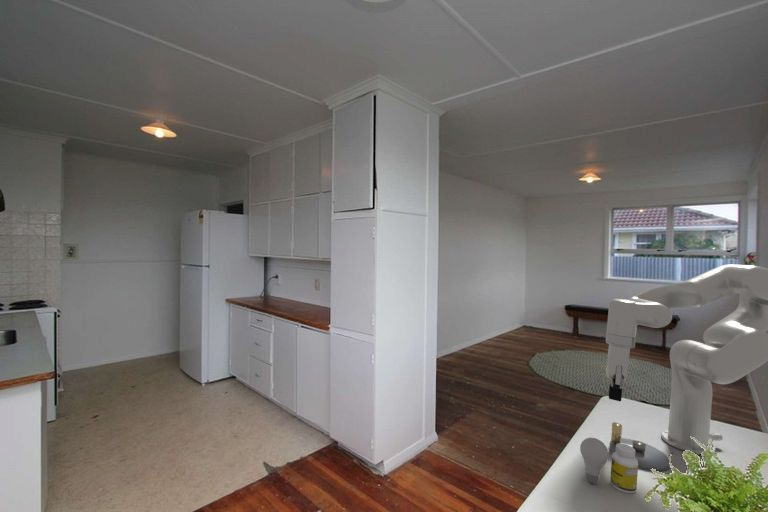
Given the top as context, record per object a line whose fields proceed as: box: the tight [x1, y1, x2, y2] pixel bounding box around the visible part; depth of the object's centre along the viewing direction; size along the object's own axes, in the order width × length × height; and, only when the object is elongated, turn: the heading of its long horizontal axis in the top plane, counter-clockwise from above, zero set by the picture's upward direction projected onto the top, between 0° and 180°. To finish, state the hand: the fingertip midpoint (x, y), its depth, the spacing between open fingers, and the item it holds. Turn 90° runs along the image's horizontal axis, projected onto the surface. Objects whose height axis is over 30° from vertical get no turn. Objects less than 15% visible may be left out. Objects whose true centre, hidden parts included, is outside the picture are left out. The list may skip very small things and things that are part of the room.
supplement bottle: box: [609, 443, 639, 494], centre depth 89 cm, size 5×5×10 cm
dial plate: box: [608, 437, 670, 472], centre depth 103 cm, size 14×14×2 cm
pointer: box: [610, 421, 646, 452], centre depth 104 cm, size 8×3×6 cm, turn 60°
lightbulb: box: [579, 437, 610, 485], centre depth 89 cm, size 6×6×11 cm
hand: (614, 399), depth 111 cm, fingers closed
